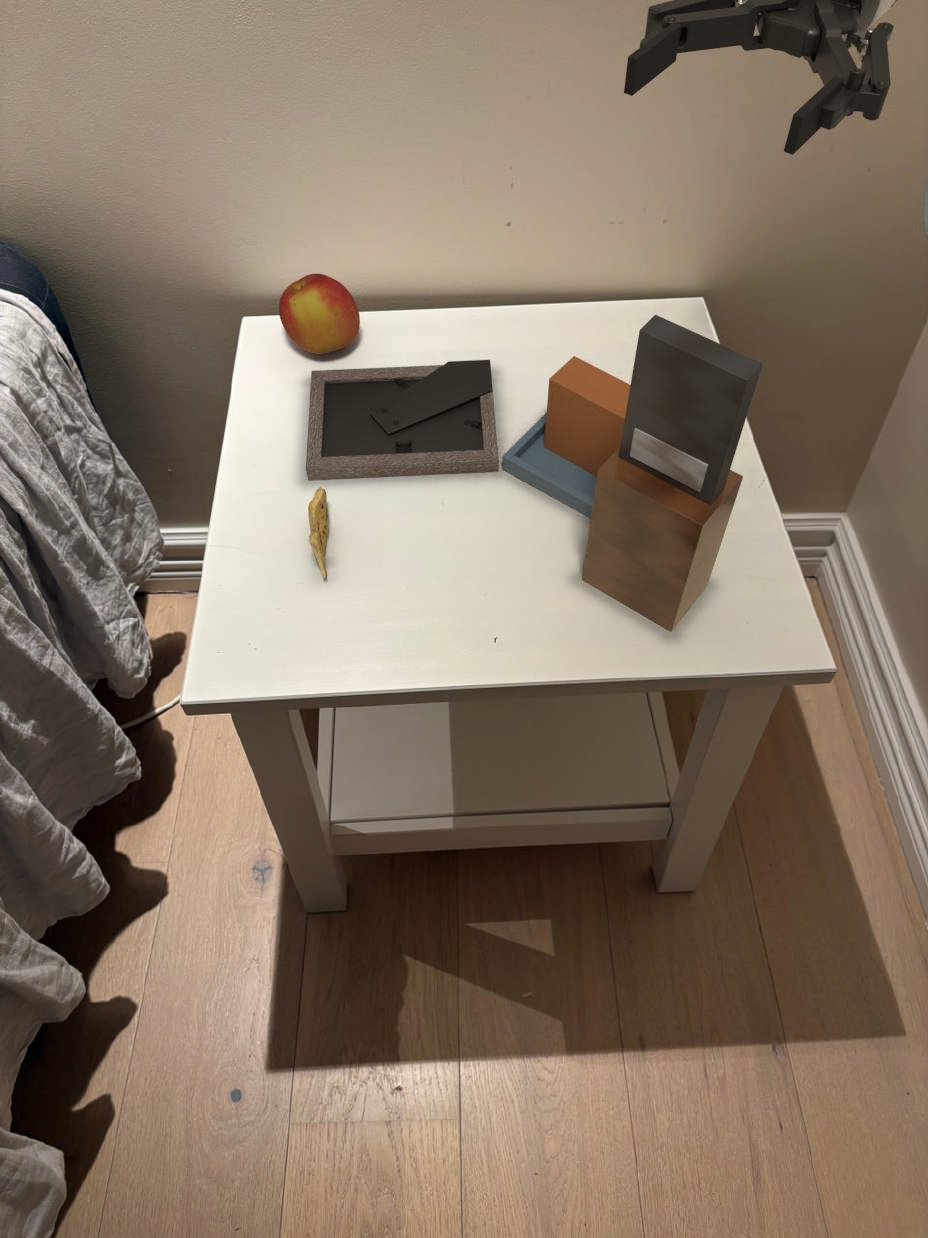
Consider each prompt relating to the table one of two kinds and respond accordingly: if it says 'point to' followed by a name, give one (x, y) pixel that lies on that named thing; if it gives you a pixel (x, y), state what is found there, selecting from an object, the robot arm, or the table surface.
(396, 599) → the table surface
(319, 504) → the pastry
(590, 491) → the tray
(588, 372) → the orange brown block
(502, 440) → the table surface
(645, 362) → the wooden block with slab
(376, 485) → the table surface
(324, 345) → the apple
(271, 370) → the table surface
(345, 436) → the picture frame
